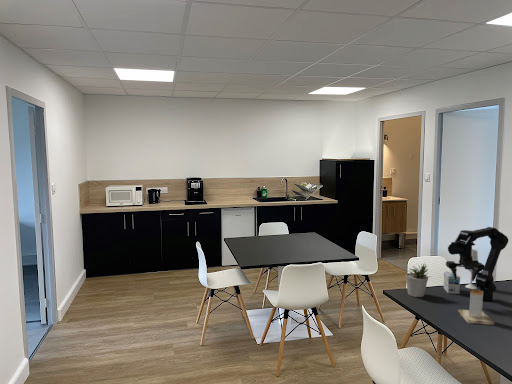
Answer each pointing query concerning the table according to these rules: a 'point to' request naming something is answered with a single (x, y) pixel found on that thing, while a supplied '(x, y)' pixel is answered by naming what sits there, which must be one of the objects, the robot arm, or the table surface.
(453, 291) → the light bulb box
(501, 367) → the table surface
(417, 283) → the potted plant
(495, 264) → the robot arm
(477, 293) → the aluminium block
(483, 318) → the birch board
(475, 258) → the champagne flute
